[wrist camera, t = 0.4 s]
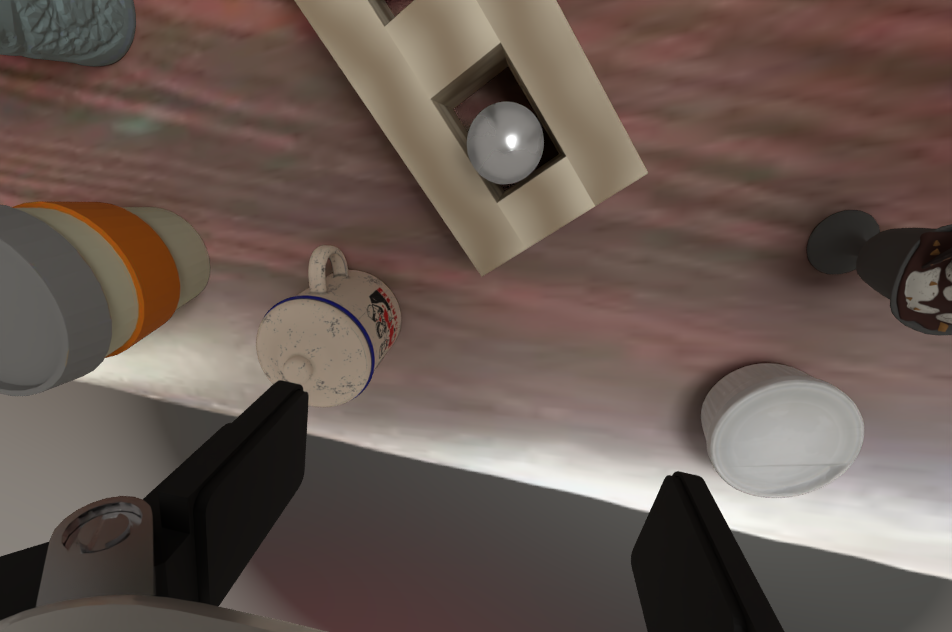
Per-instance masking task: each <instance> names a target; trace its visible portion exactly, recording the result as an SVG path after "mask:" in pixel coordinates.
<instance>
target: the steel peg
mask: <svg viewBox="0 0 952 632" xmlns="http://www.w3.org/2000/svg"><path fill="white" fill-rule="evenodd" d="M543 147H544V137H543V131H542V128H541V125H540V123H539V121H538V119H537V118H536V116H535V115H534V114H533V113H532V112H531V111H530V110H529V109H527V108H526V107H524V106H523V105H520V104H518V103H514V102H498V103H495V104H492V105H490V106H488V107H486V108H485V109H483V110H482V111H481V112H480V113H479V114H478V115H477V116H476V118H475V119H474V120H473V122H472V124H471V126H470V129H469V132H468V136H467V152H468V156H469V159H470V161H471V164H472V165H473V167H474V168H475V170H476V171H477V172H478V173H479V174H480V175H481V176H482V177H483V178H485V179H487V180H488V181H491V182H493V183H497V184H512V183H515V182H518V181H521V180H522V179H524V178H526V177H527V176H528V175H529V174H530V173H531V172H532V171H533V170H534V169H535V168H536V166H537V165H538V163H539V161H540V159H541V156H542V153H543Z"/></svg>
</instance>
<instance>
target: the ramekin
mask: <svg viewBox="0 0 952 632" xmlns="http://www.w3.org/2000/svg"><path fill="white" fill-rule="evenodd" d="M701 424H702V428H703V431H704V435H705V438H706V442H707V451H708V455H709V458H710V461H711V463H712V465H713V467H714V469H715V470H716V472H717V473H718V474H719V476H720V477H721V478H722V479H723V480H724V481H725V482H727V483H728V484H729V485H730V486H732V487H734V488H735V489H737V490H739V491H742V492H744V493H747V494H750V495H754V496H759V497H766V498H785V497H793V496H798V495H803V494H806V493H810V492H812V491H815V490H817V489H820V488H822V487H824V486H826V485H827V484H829V483H831V482H832V481H834V480H835V479H837V478H838V477H839V476H841V475H842V474H843V473H844V472H845V471H846V470H847V469H848V468H849V467H850V466H851V465H852V463H853V462H854V461H855V459H856V457H857V455H858V454H859V452H860V449H861V447H862V444H863V439H864V423H863V419H862V416H861V414H860V412H859V410H858V408H857V406H856V405H855V404H854V402H853V401H852V400H851V399H850V398H849V397H848V396H847V395H846V394H845V393H844V392H842V391H841V390H840V389H838V388H837V387H835V386H833V385H832V384H830V383H828V382H825V381H823V380H820V379H816V378H814V377H812V376H810V375H808V374H806V373H804V372H802V371H800V370H798V369H796V368H793V367H789V366H786V365H780V364H771V363H764V364H763V363H760V364H753V365H750V366H745V367H743V368H740V369H737V370H735V371H733V372H731V373H730V374H728V375H726V376H725V377H723V378H722V379H721V380H720V381H718V382H717V383H716V384H715V385H714V386H713V387H712V389H711V390H710V391H709V393H708V394H707V396H706V397H705V400H704V402H703V406H702V410H701Z"/></svg>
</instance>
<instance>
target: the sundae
mask: <svg viewBox="0 0 952 632" xmlns="http://www.w3.org/2000/svg"><path fill="white" fill-rule="evenodd" d="M807 255H808V259H809V261H810V262H811V264H812V265H813V266H814V267H815V268H816V269H817V270H819V271H821V272H824V273H826V274H843V273H847V272H850V271H853V270H855V269H856V270H857V273H858V275H859V276H860V277H861V279H862V280H863V281H865V282H866V283H867V284H868V285H869V286H871V287H872V288H873V289H874V290H876V291H877V292H879V293H880V294H882V295H883V296H885V297H887V298H888V299H890V308H891V311H892V314H893V315H894V316H895V318H896V319H898V320H899V321H900V322H901V323H903V324H904V325H905V326H908V327H910V328H912V329H914V330H916V331H919V332H922V333H925V334H931V335H952V225H947V226H943V227H940V228H938V229H930V228H898V229H890V230H886V231H882V232H880V230H879V225H878V224H877V222H876V221H875V219H874V218H873V217H872V216H871V215H869V214H867V213H865V212H862V211H858V210H846V211H842V212H838V213H836V214H833V215H831V216H829V217H828V218H826V219H825V220H823V221H822V222H821V223H820V224H819V225H818V226H817V227H816V228H815V230H814V231H813V232H812V234H811V236H810V238H809V241H808V245H807Z"/></svg>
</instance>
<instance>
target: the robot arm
mask: <svg viewBox="0 0 952 632" xmlns="http://www.w3.org/2000/svg"><path fill="white" fill-rule="evenodd" d="M308 400H309V394H308V392H305V391H303V386H302V385H300V384H296V383H292V382H287V381H283V380H278V381H277V382H276V383H274V384H273V385H272V386H271V387H270V388H269V389H268V390H267V391H266V392H265V393H264V394H263V395H261V396H260V397H259V398H258V399H257V400H256V401H255V402H254V403H253V404H252V405H251V406H250V407H249V408H247V409H246V410H245V411H244V412H243V413H242V414H241V415H240V416H239V417H238V418H237V419H236V420H235V421H233V422H232V423H228V424H226V425H225V426H223V427H222V428H221V429H220V430H218V431H217V432H216V433H215V434H214V435H213V436H212V437H211V438H210V439H209V440H207V441H206V442H205V443H204V444H203V445H202V446H201V447H200V448H199V449H198V450H196V451H195V452H194V453H193V454H192V455H191V456H190V457H189V458H188V459H187V460H186V461H184V462H183V463H182V464H181V465H180V466H179V467H178V468H177V469H176V470H175V471H173V472H172V473H171V474H170V475H169V476H168V477H167V478H166V479H165V480H163V481H162V482H161V483H160V484H159V485H158V486H157V487H156V488H155V489H154V490H152V491H151V492H150V493H149V494H148V495H147V496H146V497H145V498H144V499H143V500H142V499H139V498H136V497H130V496H118V497H111V498H106V499H102V500H99V501H96V502H93V503H90V504H88V505H86V506H84V507H82V508H80V509H78V510H76V511H75V512H73V513H72V514H71V515H69V516H68V517H67V518H65V519H64V520H63V521H62V522H61V523H60V524H59V525H58V526H57V527H56V529H55V530H54V532H53V534H52V536H51V538H50V541H49V542H47V543H44V544H41V545H37V546H34V547H30V548H27V549H24V550H21V551H17V552H14V553H11V554H7V555H4V556H1V557H0V632H326V631H322V630H318V629H313V628H310V627H305V626H301V625H297V624H293V623H289V622H284V621H281V620H277V619H272V618H267V617H263V616H258V615H254V614H249V613H245V612H240V611H236V610H231V609H227V608H222V607H218V606H219V605H220V604H221V602H222V601H223V599H224V598H225V596H226V595H227V593H228V592H229V590H230V589H231V587H232V586H233V584H234V583H235V581H236V580H237V578H238V577H239V576H240V574H241V573H242V571H243V569H244V568H245V567H246V565H247V563H248V562H249V560H250V559H251V558H252V556H253V555H254V553H255V552H256V550H257V549H258V547H259V546H260V544H261V543H262V541H263V540H264V539H265V537H266V536H267V534H268V533H269V531H270V530H271V528H272V527H273V525H274V523H275V522H276V521H277V519H278V518H279V516H280V515H281V513H282V512H283V510H284V509H285V507H286V506H287V504H288V503H289V501H290V500H291V499H292V497H293V496H294V494H295V492H296V491H297V490H298V488H299V486H300V484H301V482H302V480H303V476H304V469H305V450H306V435H307V418H308ZM631 565H632V570H633V574H634V578H635V582H636V586H637V590H638V594H639V598H640V602H641V606H642V610H643V614H644V619H645V622H646V626H647V631H648V632H784V630H783V628H782V626H781V625H780V623H779V621H778V619H777V617H776V615H775V613H774V611H773V610H772V608H771V606H770V604H769V602H768V600H767V598H766V596H765V595H764V593H763V591H762V589H761V587H760V585H759V583H758V582H757V579H756V577H755V576H754V574H753V572H752V570H751V568H750V566H749V564H748V562H747V561H746V559H745V557H744V555H743V553H742V551H741V549H740V547H739V545H738V544H737V542H736V540H735V538H734V536H733V534H732V532H731V530H730V528H729V527H728V525H727V523H726V521H725V519H724V517H723V515H722V513H721V511H720V510H719V508H718V506H717V504H716V502H715V500H714V498H713V496H712V495H711V493H710V491H709V489H708V487H707V485H706V483H705V481H704V480H703V478H702V477H700V476H697V475H692V474H688V473H684V472H679V471H677V472H675V473H674V474H673V475H672V476H670V475H668V476H666V477H665V479H664V481H663V484H662V486H661V488H660V490H659V492H658V495H657V497H656V499H655V501H654V504H653V506H652V508H651V510H650V512H649V515H648V517H647V519H646V521H645V524H644V526H643V528H642V530H641V533H640V535H639V537H638V539H637V541H636V544H635V546H634V548H633V551H632V555H631Z"/></svg>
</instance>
